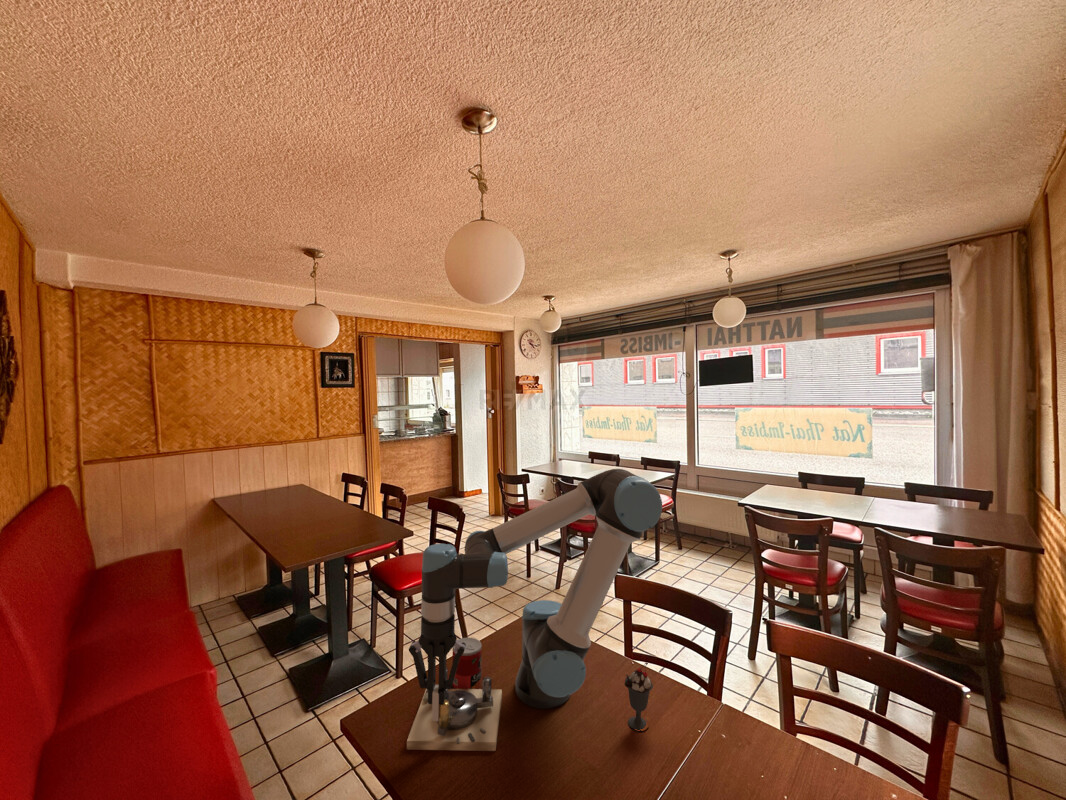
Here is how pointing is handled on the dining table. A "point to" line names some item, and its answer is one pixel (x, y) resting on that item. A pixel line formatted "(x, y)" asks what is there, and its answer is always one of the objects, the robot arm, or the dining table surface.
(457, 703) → the cam capstan
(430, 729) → the stand
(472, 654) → the canned food
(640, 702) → the sundae
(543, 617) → the robot arm
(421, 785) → the dining table surface
